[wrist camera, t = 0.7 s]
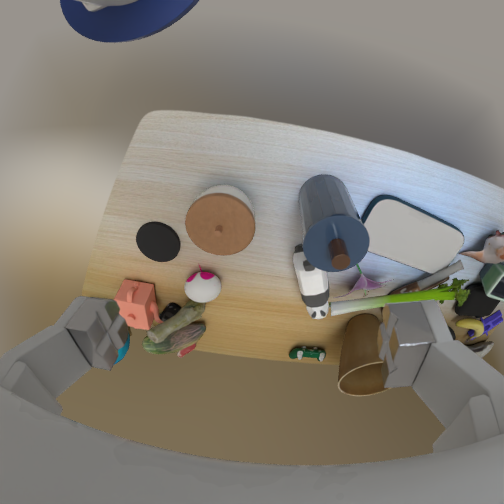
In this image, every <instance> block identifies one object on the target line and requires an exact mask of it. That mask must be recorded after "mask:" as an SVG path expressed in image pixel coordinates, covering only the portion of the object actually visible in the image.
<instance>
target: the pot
mask: <svg viewBox="0 0 504 504" xmlns="http://www.w3.org/2000/svg"><path fill="white" fill-rule="evenodd" d="M299 207H300V215H301V223H302V231H303V239H304V236H305V233H306V232H307V230H308V229H309V227H310V226H311V225H312V224H313V223H315V222H316V221H317V220H319V219H321V218H323V217H325V216H328V215H333V214H346V215H350V216H353V217H355V218H357V219H358V220H360V221H361V219H360V217H359V214H358V212H357V210H356V208H355V205H354V203H353V201H352V199H351V197H350V194H349V192H348V190H347V188H346V187H345V185H344V184H343V183H342V181H340V180H339V179H338V178H336V177H334V176H331V175H317V176H314V177H312V178H310V179H309V180H308V181H306V182H305V183H304V185H303V186H302V188H301V190H300V192H299ZM361 222H362V221H361Z"/></svg>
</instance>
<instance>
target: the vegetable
mask: <svg viewBox="0 0 504 504" xmlns="http://www.w3.org/2000/svg"><path fill="white" fill-rule="evenodd" d="M205 330H206V326H205V325H204V324H202V323H198V324H193V323H190V324H189V325H187V326H185V327H182V328H180V329H179V330H176V331H174V332H173V333H171V334H169V335H168V336H167V338H165V339H164V341H162V342H159V343H155V342H153V341H152V340H151V339H150V338H149V337H148V336H146V337H145V338H144V340H143V343H142V345H143V347H144V349H145V350H146V351H147V352H150V353H153V354H166V353H173V352H177V351H180V350H182V349H184V348H187V347H189V346H191V345H193V344H195V343H196V342H197V341H198V340H199V339H200V338H201V337H202V335H203V333H204V332H205Z"/></svg>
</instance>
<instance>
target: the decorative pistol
mask: <svg viewBox="0 0 504 504" xmlns="http://www.w3.org/2000/svg"><path fill="white" fill-rule="evenodd" d="M462 269H464V267H463V264H462V262H461V260H459V261H457V262H456V263H454V264H452V265H450V266H449V267H446V268H445V269H443V270H440V271H438V272H436V273H434V274H432V275H430V276H429V277H426V278H424V279H422V280H421V281H418V282H417V281H416V282H413V283H411V284H408V285H405V286H403V287H401V288H399V289H397V290H395V291H393V292H391V294H390V295H393V294H401V293H409V292H417V291H424V290H430V289H432V288H434V287H436V286H438V285H439V284H442V283H444V282H445V281H447V280H449V276H450V275H451V274H454V273H455V272H457V271H460V270H462ZM382 311H383V307H382Z"/></svg>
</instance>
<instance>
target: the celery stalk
mask: <svg viewBox="0 0 504 504" xmlns="http://www.w3.org/2000/svg"><path fill="white" fill-rule="evenodd" d="M452 280H454V281H453V283H452V285H451V286H447V285H448V284H446V283H445V284H441V285H440V284H439V287H438V288H437V289H430V290H424V291H417V292H409V293H401V294H393V295H385V296H377V297H370V298H362V299H354V300H346V301H337V302H330V303H329V307H331V316H334V315H339V314H344V313H349V312H354V311H359V310H365V309H372V308H378V307H384V305H385V303H397V302H413V301H422V300H439V302H440V303H441V304H442V303H443V302H444V300H456V301H457V300H458V303H459V307H460V306H462V305H463V303H464V301H465V300H466V299H467V298H468V297H467V298H466V296H468V294H469V292H470V290H468V293H467V291H466V289H465V290H462V289H461V284H462V286H463V285H464V283H466V281H469V279H468V280H463V279H462V280H457V278H454V279H452ZM449 289H450V290H449ZM451 289H452V290H451ZM459 289H460V290H459ZM457 290H459V291H457ZM449 291H450V292H449ZM465 292H466V293H467V294H466V293H465ZM454 298H456V299H454ZM461 301H462V302H461ZM457 305H458V304H457Z"/></svg>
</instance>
